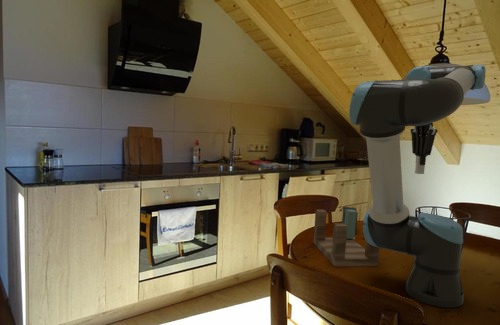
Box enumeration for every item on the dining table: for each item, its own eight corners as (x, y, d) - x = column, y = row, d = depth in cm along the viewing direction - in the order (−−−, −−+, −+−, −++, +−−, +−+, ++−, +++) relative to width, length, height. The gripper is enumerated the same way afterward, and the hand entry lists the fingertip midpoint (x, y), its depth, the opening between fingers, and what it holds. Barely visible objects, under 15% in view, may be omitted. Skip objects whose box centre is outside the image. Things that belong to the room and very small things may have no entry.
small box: (356, 234, 161) (358, 212, 160) (342, 233, 162) (343, 211, 161) (354, 228, 171) (356, 207, 170) (341, 227, 173) (342, 206, 172)
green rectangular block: (355, 239, 144) (358, 211, 143) (346, 239, 144) (349, 211, 143) (351, 236, 148) (354, 209, 147) (342, 236, 147) (345, 209, 146)
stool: (377, 265, 124) (381, 226, 123) (334, 266, 122) (337, 225, 121) (350, 243, 148) (352, 209, 147) (313, 243, 146) (315, 209, 145)
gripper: (446, 109, 123) (440, 176, 126) (423, 111, 136) (418, 171, 138) (426, 108, 122) (420, 175, 125) (405, 110, 135) (400, 171, 137)
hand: (419, 173), depth 131 cm, fingers closed
